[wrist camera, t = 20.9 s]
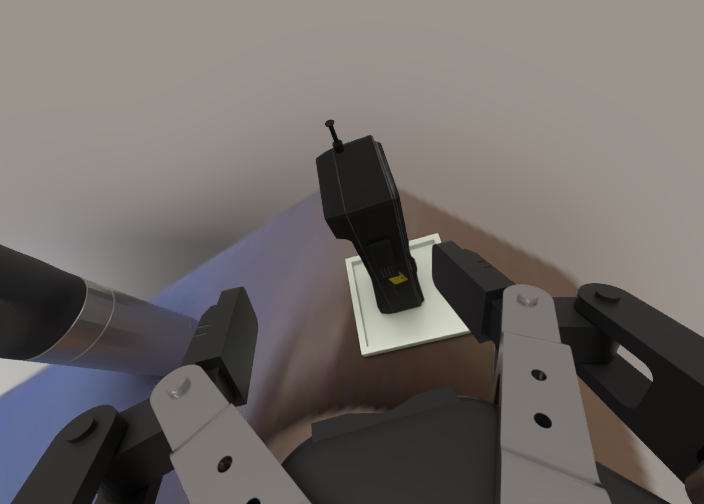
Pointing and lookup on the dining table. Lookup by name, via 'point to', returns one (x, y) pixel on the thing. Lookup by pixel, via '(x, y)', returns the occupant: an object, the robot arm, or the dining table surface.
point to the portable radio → (370, 218)
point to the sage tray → (404, 326)
